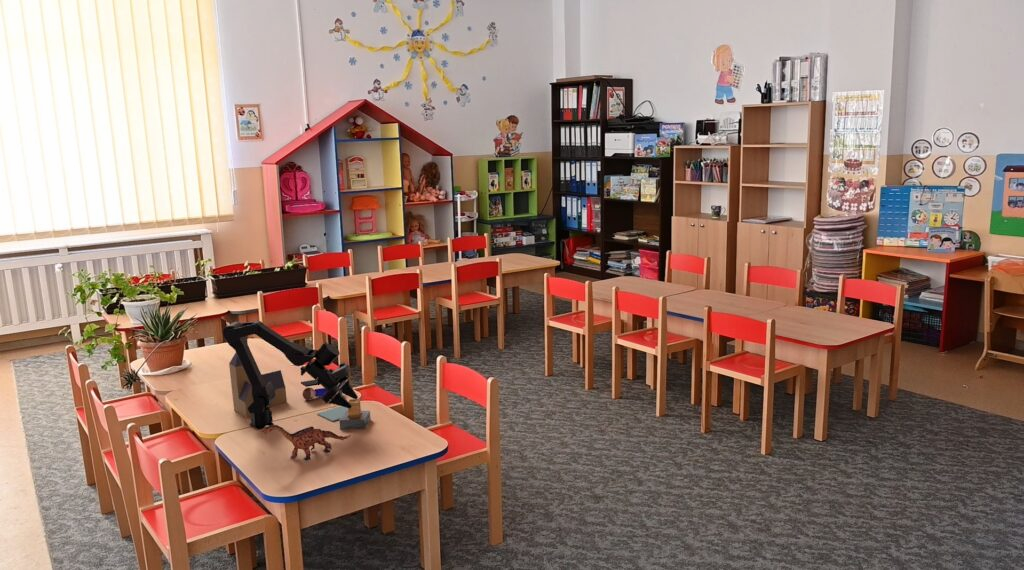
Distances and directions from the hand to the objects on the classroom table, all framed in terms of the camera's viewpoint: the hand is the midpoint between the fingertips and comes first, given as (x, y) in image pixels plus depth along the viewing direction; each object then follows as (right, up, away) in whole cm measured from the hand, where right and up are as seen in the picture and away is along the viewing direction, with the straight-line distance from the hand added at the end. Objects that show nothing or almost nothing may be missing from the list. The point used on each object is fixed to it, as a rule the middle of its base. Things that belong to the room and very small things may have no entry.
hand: (354, 402), depth 285 cm
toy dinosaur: (-10, -14, -25) cm, 30 cm away
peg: (0, -8, +2) cm, 8 cm away
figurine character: (-19, -3, +32) cm, 38 cm away
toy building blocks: (-39, -5, +21) cm, 45 cm away
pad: (-9, -6, +12) cm, 16 cm away
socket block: (0, -8, +2) cm, 8 cm away
